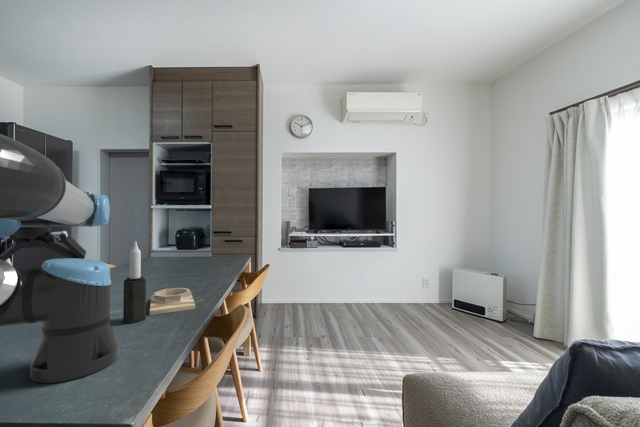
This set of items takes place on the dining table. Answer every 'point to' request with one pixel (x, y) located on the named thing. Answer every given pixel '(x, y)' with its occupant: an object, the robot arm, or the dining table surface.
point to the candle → (134, 290)
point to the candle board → (171, 301)
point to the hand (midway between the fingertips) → (44, 276)
